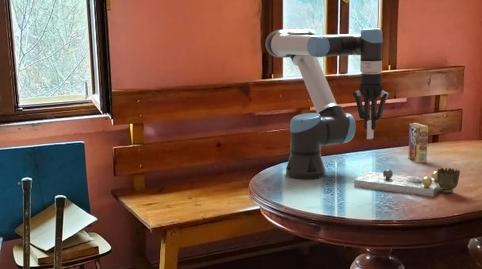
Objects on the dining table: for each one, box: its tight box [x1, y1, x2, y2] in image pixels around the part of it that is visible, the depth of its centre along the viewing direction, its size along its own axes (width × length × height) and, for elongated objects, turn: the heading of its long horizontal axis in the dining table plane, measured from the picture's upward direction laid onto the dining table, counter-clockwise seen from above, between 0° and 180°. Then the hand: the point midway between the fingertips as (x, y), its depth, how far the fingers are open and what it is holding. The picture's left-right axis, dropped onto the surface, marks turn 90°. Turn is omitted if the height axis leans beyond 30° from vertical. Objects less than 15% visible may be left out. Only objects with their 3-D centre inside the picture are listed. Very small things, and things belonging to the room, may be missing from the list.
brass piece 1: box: [422, 176, 432, 187], centre depth 212 cm, size 3×3×3 cm
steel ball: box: [382, 169, 394, 179], centre depth 224 cm, size 3×3×3 cm
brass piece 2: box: [430, 170, 438, 181], centre depth 220 cm, size 3×3×3 cm
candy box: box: [407, 122, 429, 164], centre depth 260 cm, size 9×4×15 cm, turn 13°
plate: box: [353, 171, 443, 198], centre depth 222 cm, size 28×14×2 cm, turn 59°
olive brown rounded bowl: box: [436, 167, 461, 195], centre depth 213 cm, size 8×7×8 cm
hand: (370, 138), depth 225 cm, fingers closed
